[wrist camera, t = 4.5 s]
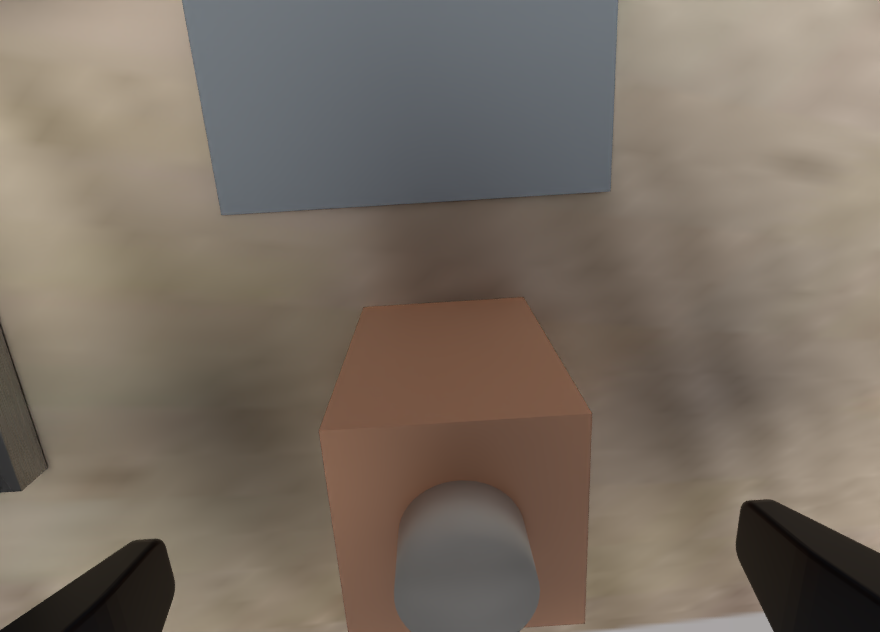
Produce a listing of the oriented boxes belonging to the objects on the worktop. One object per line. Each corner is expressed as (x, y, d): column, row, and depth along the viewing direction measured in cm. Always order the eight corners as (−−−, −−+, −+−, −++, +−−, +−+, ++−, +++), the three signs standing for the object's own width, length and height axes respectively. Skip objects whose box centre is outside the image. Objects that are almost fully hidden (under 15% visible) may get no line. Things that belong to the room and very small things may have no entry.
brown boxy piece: (378, 446, 15) (338, 709, 8) (363, 306, 14) (300, 479, 7) (524, 437, 15) (606, 692, 8) (523, 296, 14) (619, 460, 7)
